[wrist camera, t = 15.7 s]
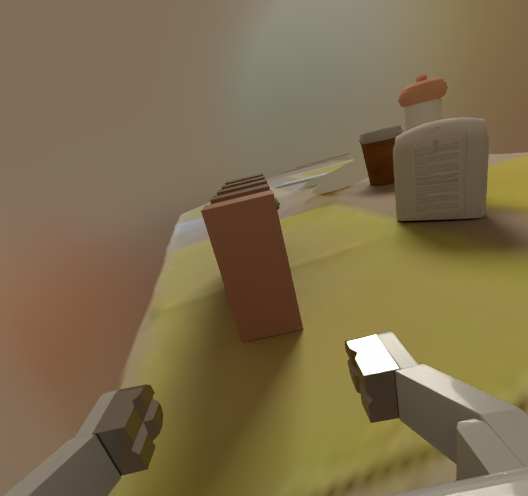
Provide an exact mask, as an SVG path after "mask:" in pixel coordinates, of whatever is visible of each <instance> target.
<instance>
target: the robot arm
mask: <svg viewBox="0 0 528 496" xmlns="http://www.w3.org/2000/svg"><path fill="white" fill-rule="evenodd" d="M345 349H346V352H347V354H348V357H349V360H348V366H349V371H350V375H351V378H352V381H353V384H354V386H355V389H356V391H357V392H358V393H360V394H361V400H362V405H363V407H364V409H365V411H366V413H367V416H368V418H369V420H370V422H371V423H374V422H379V421H385V420H391V419H396V418H399V419H400V420H401V421H402V422H403V423H405V424H406V425H407V426H408V427H410V428H411V429H412V430H414V431H415V432H416V433H417V434H419V435H420V436H421V437H422V438H424V439H425V440H426V441H427V442H429V443H430V444H431V445H433V446H434V447H435V448H436V449H438V450H439V451H440V452H441V453H443V454H444V455H445V456H447V457H448V458H449V459H450V460H452V461H453V462H454V463H455V464H457V481H454V482H449V483H444V484H439V485H434V486H428V487H423V488H418V489H413V490H408V491H403V492H398V493H393V494H388V495H383V496H528V415H526V414H525V413H524V412H523V411H522V410H521V409H520V408H518V407H516V406H514V405H512V404H510V403H507V402H505V401H503V400H501V399H499V398H496V397H494V396H492V395H490V394H488V393H485V392H483V391H481V390H479V389H477V388H475V387H472V386H470V385H468V384H466V383H464V382H461V381H459V380H457V379H455V378H453V377H451V376H448V375H446V374H444V373H442V372H440V371H437V370H435V369H433V368H431V367H429V366H427V365H424V364H421V365H418V364H417V362H416V361H415V360H414V359H413V357H412V356H411V355H410V354H409V352H408V351H407V350H406V349H405V347H404V346H403V345H402V344H401V342H400V341H399V340H398V339H397V337H396V336H395V335H394V334H393V332H391V331H385V332H381V333H377V334H374V335H369V336H365V337H361V338H356V339H352V340H347V341H345ZM154 393H155V392H154V391H153V389H152V387H151V385H147V384H146V385H141V386H136V387H131V388H126V389H120V390H117V391H112V392H106V393H105V394H103V395H102V396H101V397H100V398H99V400H98V402H97V403H96V405H95V406H94V408H93V409H92V411H91V413H90V414H89V416H88V417H87V419H86V421H85V422H84V424H83V425H82V427H81V429H80V430H79V432H78V433H77V435H76V436H75V438H74V439H71V440H69V441H67V442H66V443H65V444H64V445H63V446H61V447H60V448H59V449H58V450H57V451H56V452H54V453H53V454H52V455H51V456H50V457H49V458H47V459H46V460H45V461H44V462H43V463H42V464H40V465H39V466H38V467H37V468H36V469H34V470H33V471H32V472H31V473H30V474H29V475H28V476H26V477H25V478H24V479H23V480H22V481H20V482H19V483H18V484H17V485H16V486H15V487H14V488H12V489H11V490H10V491H9V492H8V493H6V494H5V495H4V496H108V494H109V493H110V492H111V490H112V489H113V488H114V486H115V485H116V484H117V482H118V481H119V480H120V478H121V476H122V475H126V474H130V473H135V472H139V471H143V470H147V469H148V467H149V464H150V461H151V458H152V455H153V452H154V449H155V445H154V443H153V441H154V439H155V438H156V437H157V436H158V435H159V434H160V431H161V428H162V424H163V412H162V407H161V405H160V403H159V402H158V401H156V400H154V399H153V395H154Z"/></svg>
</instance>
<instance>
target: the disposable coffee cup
mask: <svg viewBox="0 0 528 496" xmlns="http://www.w3.org/2000/svg"><path fill="white" fill-rule="evenodd" d="M402 132H403V131H402V129H401V126H394V127H390V128H385V129H381V130H377V131H373V132H369V133H365V134H361V135H360V140H359V142H360V144H361V146H362V150H363V154H364V159H365V163H366V167H367V171H368V176H369V180H370V184H371V185H383V184H389V183H393V182H395V181H394V164H393V148H394V145H395V138H396V137H397V136H398V135H400V134H402Z"/></svg>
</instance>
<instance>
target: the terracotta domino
mask: <svg viewBox="0 0 528 496" xmlns="http://www.w3.org/2000/svg"><path fill="white" fill-rule="evenodd" d="M201 212H202V215H203V218H204V222H205V225H206V228H207V231H208V234H209V238H210V241H211V244H212V247H213V250H214V254H215V257H216V260H217V263H218V266H219V270H220V273H221V276H222V279H223V282H224V286H225V289H226V292H227V295H228V298H229V301H230V305H231V308H232V311H233V314H234V317H235V321H236V324H237V327H238V330H239V333H240V337H241V340H242V343H243V342H247V341H252V340H256V339H261V338H265V337H270V336H274V335H279V334H284V333H288V332H293V331H297V330H302V329H303V326H302V321H301V317H300V312H299V308H298V303H297V298H296V294H295V289H294V285H293V280H292V276H291V271H290V267H289V262H288V257H287V253H286V248H285V244H284V239H283V235H282V230H281V226H280V221H279V216H278V212H277V207H276V203H275V198H274V194H273V192H272V190H268V191H264V192H260V193H256V194H252V195H248V196H244V197H239V198H235V199H231V200H227V201H223V202H219V203H214V204H210V205H206V206H205V207H204V208H203V209H202V211H201Z"/></svg>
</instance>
